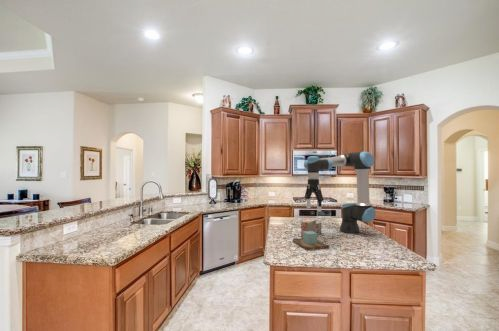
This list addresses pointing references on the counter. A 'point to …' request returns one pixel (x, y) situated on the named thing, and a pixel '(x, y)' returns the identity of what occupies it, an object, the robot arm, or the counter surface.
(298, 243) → the board
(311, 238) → the cube
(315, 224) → the stack of blocks
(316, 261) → the counter surface
